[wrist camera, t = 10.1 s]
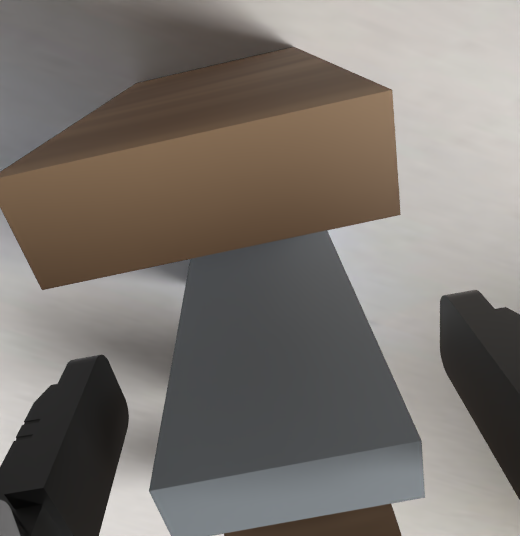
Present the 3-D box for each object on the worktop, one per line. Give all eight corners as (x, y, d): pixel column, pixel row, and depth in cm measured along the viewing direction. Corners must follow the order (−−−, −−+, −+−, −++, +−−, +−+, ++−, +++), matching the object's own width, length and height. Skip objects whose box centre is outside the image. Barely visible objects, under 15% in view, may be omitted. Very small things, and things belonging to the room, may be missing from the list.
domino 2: (330, 261, 18) (424, 497, 9) (202, 288, 18) (174, 542, 9) (324, 223, 17) (421, 440, 8) (191, 251, 17) (149, 491, 9)
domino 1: (136, 83, 15) (-14, 180, 6) (293, 46, 14) (392, 90, 5) (152, 134, 15) (42, 290, 6) (302, 100, 15) (400, 214, 6)
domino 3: (226, 373, 20) (222, 648, 11) (341, 351, 20) (427, 613, 11) (235, 400, 21) (237, 677, 12) (345, 379, 21) (429, 647, 12)
